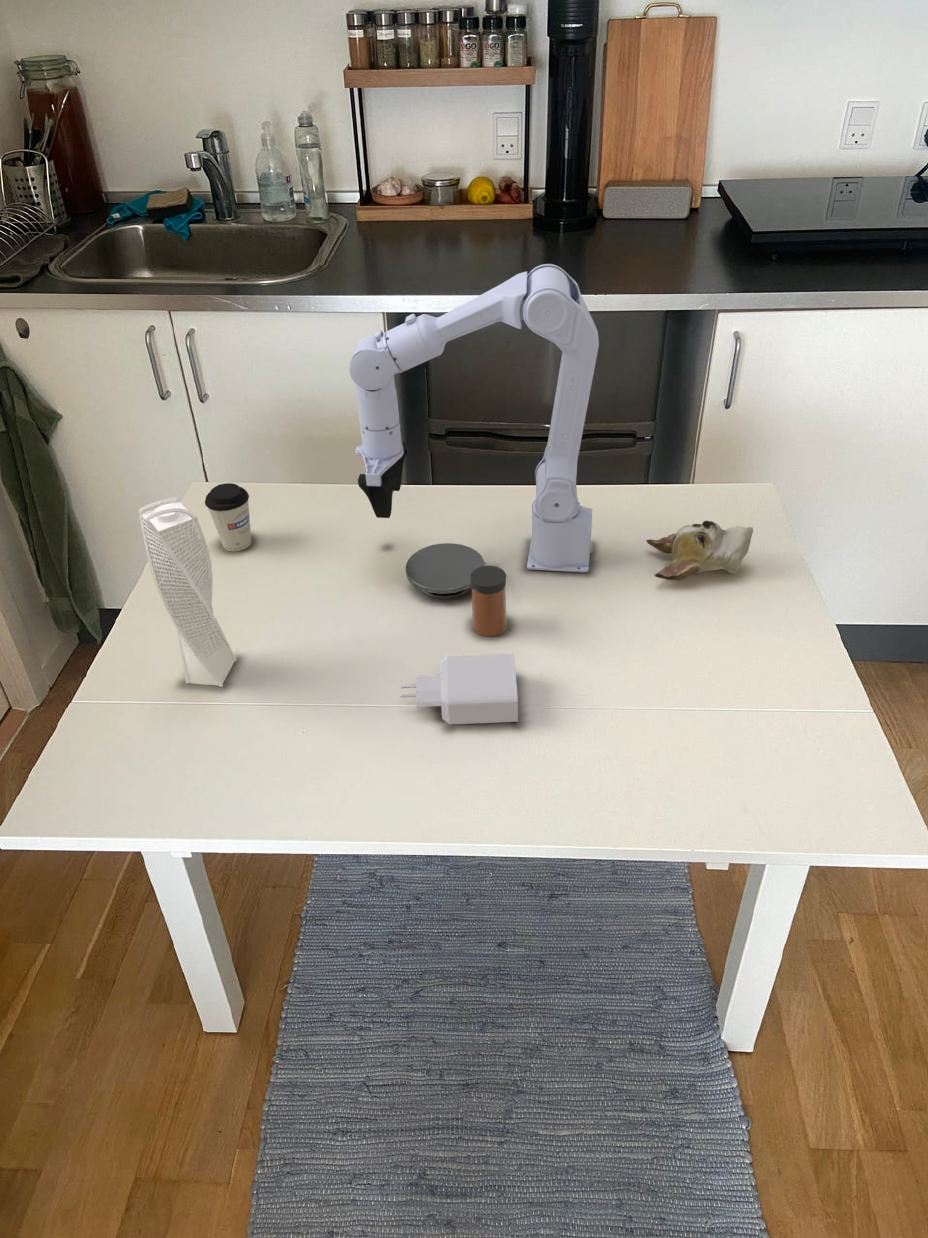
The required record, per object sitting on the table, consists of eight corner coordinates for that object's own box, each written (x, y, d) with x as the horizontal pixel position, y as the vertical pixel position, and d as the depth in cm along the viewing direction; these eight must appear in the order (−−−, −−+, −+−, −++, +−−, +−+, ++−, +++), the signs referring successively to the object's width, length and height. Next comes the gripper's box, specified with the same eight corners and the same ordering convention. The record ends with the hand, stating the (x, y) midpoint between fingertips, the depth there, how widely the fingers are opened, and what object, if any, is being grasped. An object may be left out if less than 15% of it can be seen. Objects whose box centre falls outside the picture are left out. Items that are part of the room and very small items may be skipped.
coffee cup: (207, 545, 154) (193, 493, 147) (240, 526, 158) (229, 475, 151) (233, 560, 150) (220, 507, 144) (267, 541, 154) (256, 488, 148)
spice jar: (508, 616, 136) (507, 566, 131) (504, 638, 132) (503, 587, 127) (475, 614, 137) (473, 564, 131) (470, 635, 133) (468, 585, 127)
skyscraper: (226, 695, 126) (178, 519, 108) (174, 690, 127) (118, 515, 109) (246, 656, 132) (203, 483, 114) (196, 652, 133) (146, 480, 115)
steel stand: (489, 560, 147) (489, 545, 145) (479, 608, 138) (479, 591, 136) (415, 556, 149) (413, 541, 147) (400, 603, 140) (398, 587, 138)
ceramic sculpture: (762, 538, 134) (656, 545, 135) (756, 587, 139) (654, 593, 140) (746, 499, 142) (646, 506, 143) (741, 546, 147) (645, 553, 148)
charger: (403, 681, 126) (514, 676, 126) (400, 730, 119) (518, 725, 119) (400, 654, 123) (513, 649, 123) (397, 703, 116) (518, 698, 116)
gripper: (363, 398, 140) (372, 477, 149) (340, 445, 129) (352, 528, 138) (409, 399, 139) (416, 479, 148) (390, 447, 128) (399, 529, 137)
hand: (388, 502), depth 143 cm, fingers open, 7 cm apart
